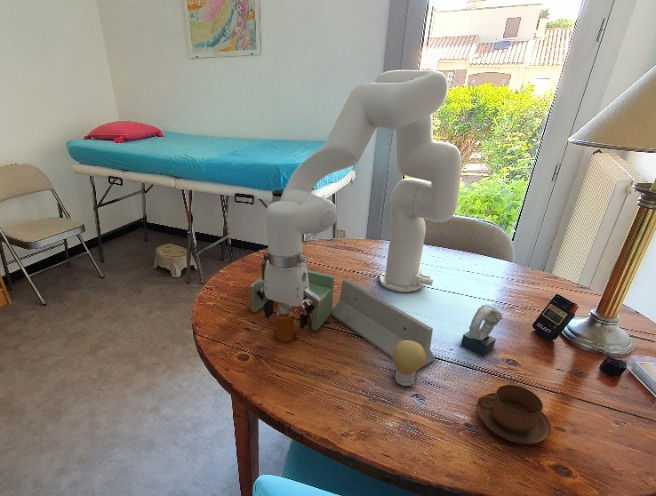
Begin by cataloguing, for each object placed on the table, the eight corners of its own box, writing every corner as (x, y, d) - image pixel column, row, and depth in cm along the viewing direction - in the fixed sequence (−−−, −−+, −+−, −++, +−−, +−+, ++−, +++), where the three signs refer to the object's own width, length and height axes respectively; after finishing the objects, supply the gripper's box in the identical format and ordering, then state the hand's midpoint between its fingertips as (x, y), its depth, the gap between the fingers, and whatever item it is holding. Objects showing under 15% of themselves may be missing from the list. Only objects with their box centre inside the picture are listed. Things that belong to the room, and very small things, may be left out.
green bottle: (280, 283, 109) (280, 252, 104) (272, 289, 105) (272, 258, 101) (267, 279, 110) (266, 249, 106) (259, 286, 107) (257, 255, 103)
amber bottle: (296, 334, 101) (296, 304, 97) (288, 343, 98) (288, 312, 94) (281, 330, 103) (281, 300, 99) (273, 338, 100) (272, 307, 96)
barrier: (331, 315, 109) (333, 282, 104) (351, 307, 112) (354, 275, 107) (412, 372, 88) (419, 334, 83) (434, 360, 91) (442, 323, 86)
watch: (497, 346, 95) (509, 307, 90) (478, 360, 91) (490, 319, 86) (474, 335, 99) (485, 297, 94) (455, 348, 95) (465, 308, 90)
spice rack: (332, 312, 110) (334, 275, 105) (317, 330, 103) (318, 292, 97) (268, 295, 119) (267, 260, 114) (250, 311, 111) (248, 275, 106)
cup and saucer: (493, 450, 70) (502, 425, 67) (464, 400, 80) (470, 376, 77) (562, 449, 70) (574, 424, 67) (524, 399, 80) (533, 375, 77)
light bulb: (421, 376, 87) (429, 338, 82) (417, 396, 82) (425, 357, 77) (391, 368, 89) (397, 331, 84) (385, 387, 84) (391, 348, 79)
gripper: (327, 257, 89) (325, 321, 98) (260, 244, 97) (264, 305, 105) (313, 271, 84) (312, 338, 92) (243, 256, 91) (248, 319, 100)
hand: (286, 320), depth 99 cm, fingers open, 9 cm apart
